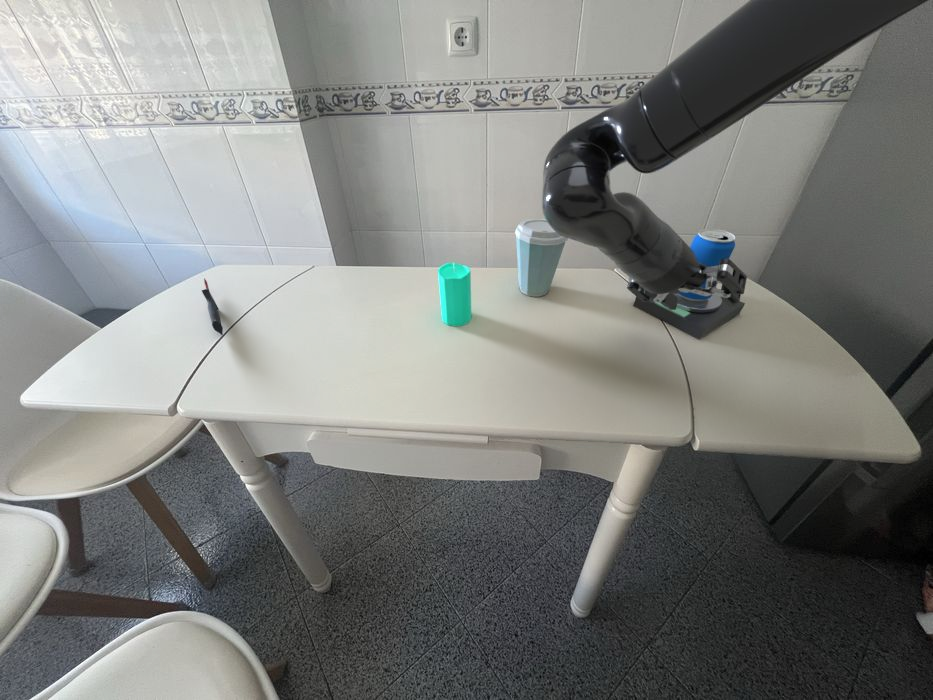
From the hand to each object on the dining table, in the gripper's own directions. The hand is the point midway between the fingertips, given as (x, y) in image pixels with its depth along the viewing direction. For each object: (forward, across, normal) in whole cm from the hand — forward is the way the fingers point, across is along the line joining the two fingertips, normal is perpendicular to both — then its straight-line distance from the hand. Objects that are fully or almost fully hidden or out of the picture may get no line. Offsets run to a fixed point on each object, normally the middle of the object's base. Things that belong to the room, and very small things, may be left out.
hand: (702, 302), depth 57 cm
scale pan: (+12, +8, -7) cm, 16 cm away
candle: (-22, +35, +10) cm, 42 cm away
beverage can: (+12, +8, -7) cm, 16 cm away
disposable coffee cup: (-6, +32, -3) cm, 33 cm away
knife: (-60, +68, +22) cm, 93 cm away
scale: (+14, +9, -5) cm, 17 cm away
